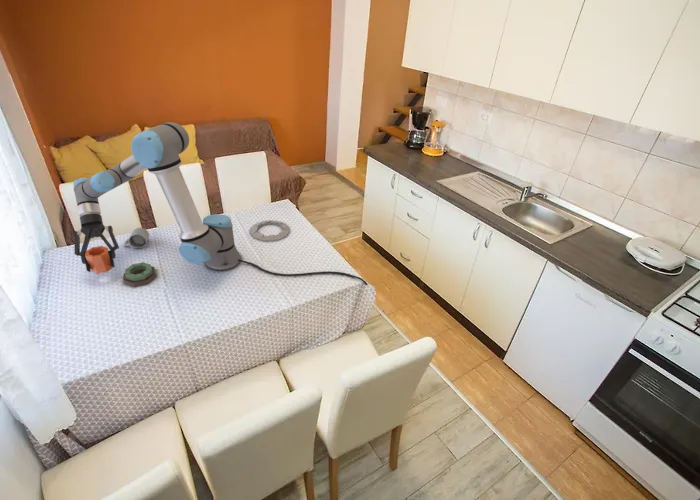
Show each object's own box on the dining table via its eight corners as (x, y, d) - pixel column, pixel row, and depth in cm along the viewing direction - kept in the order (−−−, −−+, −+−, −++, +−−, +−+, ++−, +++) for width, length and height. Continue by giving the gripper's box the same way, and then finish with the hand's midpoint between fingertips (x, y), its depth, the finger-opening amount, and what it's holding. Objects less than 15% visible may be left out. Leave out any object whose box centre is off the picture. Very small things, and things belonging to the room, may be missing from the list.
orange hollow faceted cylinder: (117, 264, 160) (112, 249, 155) (102, 275, 153) (96, 259, 149) (102, 260, 161) (97, 244, 157) (87, 270, 155) (80, 254, 151)
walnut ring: (162, 272, 166) (161, 269, 165) (141, 289, 157) (140, 285, 155) (139, 265, 169) (138, 262, 168) (118, 281, 159) (116, 278, 158)
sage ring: (157, 269, 164) (156, 266, 163) (140, 283, 156) (138, 279, 155) (138, 264, 167) (137, 260, 165) (120, 277, 159) (119, 273, 158)
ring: (292, 224, 207) (292, 221, 206) (283, 243, 191) (283, 240, 190) (258, 219, 208) (258, 216, 207) (246, 238, 192) (245, 235, 191)
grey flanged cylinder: (151, 238, 187) (147, 225, 182) (148, 247, 180) (144, 234, 176) (127, 240, 184) (122, 227, 180) (123, 250, 178) (118, 236, 173)
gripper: (120, 214, 164) (131, 264, 162) (63, 222, 156) (73, 275, 153) (117, 209, 157) (128, 261, 155) (57, 217, 149) (67, 273, 146)
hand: (101, 268), depth 154 cm, fingers closed on orange hollow faceted cylinder, 8 cm apart
